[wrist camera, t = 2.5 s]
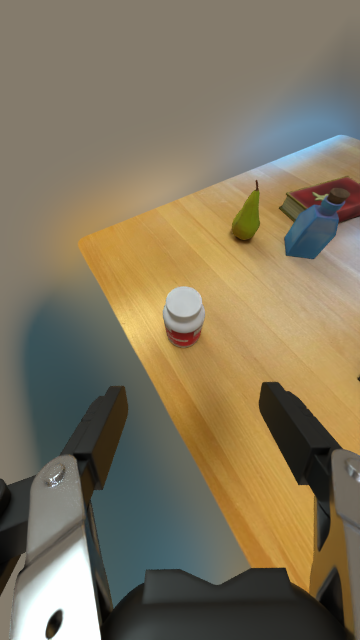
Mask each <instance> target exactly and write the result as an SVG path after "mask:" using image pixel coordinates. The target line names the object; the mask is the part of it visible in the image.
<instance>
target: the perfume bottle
mask: <svg viewBox="0 0 360 640" xmlns="http://www.w3.org/2000/svg"><path fill="white" fill-rule="evenodd" d="M349 196H350V193H349V192H348V191H347V190H345V189H342V188H333V189H331V191H330V193H329V195H327V196H326V197H325V198H324V199H323V201H322V202H321V205H313V206H311V207H309V208H308V209H306V210H304V211H303V212H301V213H300V214H299V215H298V217H297V219H296V220H295V222H294V224H293V225H292V227H291V228H290V230H289V232H288V233H287V235H286V236H285V248H286V255H287V256H294V257H302V258H309V259H314V258H315V257H316V256H317V255H318V254H319V253H320V252H321V251H322V250H323V249H324V247H325V246H326V245H327V244H328V243H329V242H330V241H331V240H332V239H333V238H334V237H335V235H336V231H337V226H338V222H339V218H338V214H337V210H340V208H341V207H342V206H343V205H344V203H345V200H346V199H347V198H348V197H349Z"/></svg>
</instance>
